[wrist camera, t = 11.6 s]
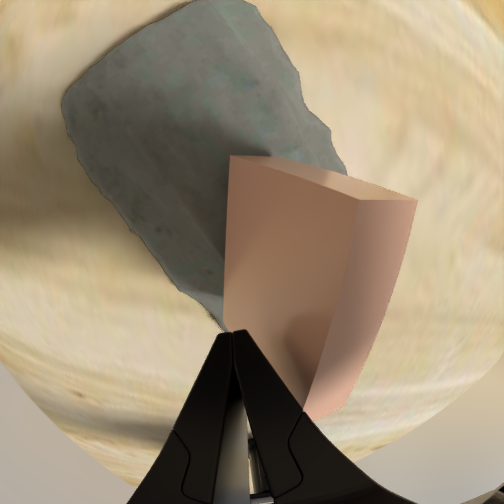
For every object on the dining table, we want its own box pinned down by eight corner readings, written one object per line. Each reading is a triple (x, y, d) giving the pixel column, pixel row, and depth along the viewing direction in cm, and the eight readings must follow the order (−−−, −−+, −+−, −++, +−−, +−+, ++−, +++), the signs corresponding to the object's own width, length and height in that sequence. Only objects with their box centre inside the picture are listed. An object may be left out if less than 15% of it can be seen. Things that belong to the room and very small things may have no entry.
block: (280, 156, 10) (417, 200, 6) (263, 312, 13) (344, 406, 8) (230, 155, 10) (359, 200, 5) (222, 321, 12) (295, 429, 8)
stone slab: (231, -4, 9) (50, 120, 10) (243, -28, 7) (22, 123, 7) (387, 306, 20) (278, 378, 21) (407, 328, 18) (290, 405, 18)
